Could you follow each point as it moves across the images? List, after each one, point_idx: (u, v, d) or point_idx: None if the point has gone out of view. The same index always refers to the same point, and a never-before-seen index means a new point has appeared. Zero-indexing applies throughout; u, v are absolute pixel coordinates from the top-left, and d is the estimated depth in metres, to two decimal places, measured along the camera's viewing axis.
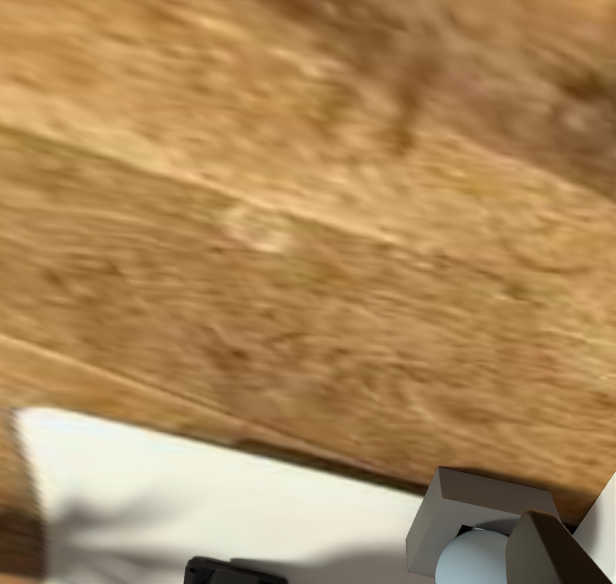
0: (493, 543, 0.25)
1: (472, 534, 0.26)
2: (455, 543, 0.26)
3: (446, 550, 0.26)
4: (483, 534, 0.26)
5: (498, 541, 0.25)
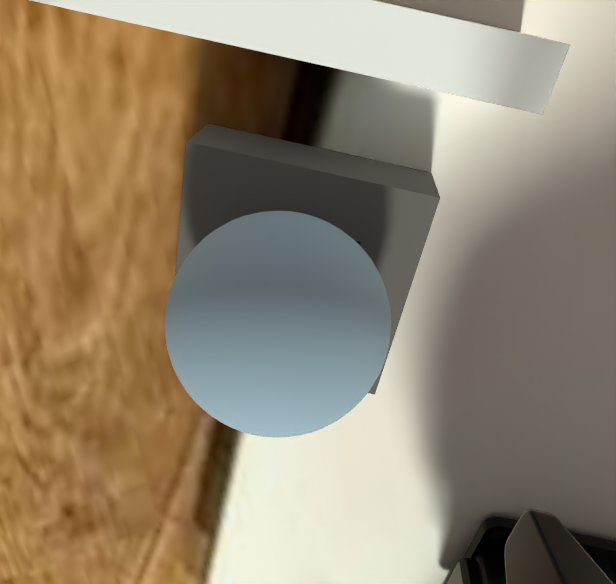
0: None
1: None
2: None
3: None
4: None
5: None
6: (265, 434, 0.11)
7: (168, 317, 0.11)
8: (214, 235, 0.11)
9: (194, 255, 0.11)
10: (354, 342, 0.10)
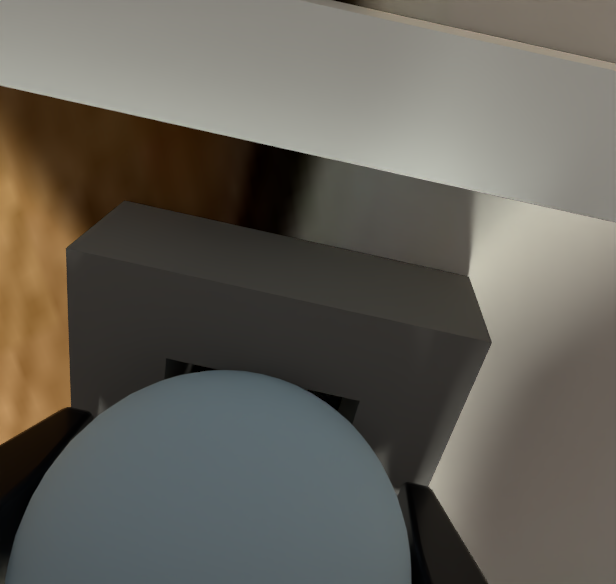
0: None
1: None
2: None
3: None
4: None
5: None
6: None
7: None
8: (90, 442, 0.06)
9: (51, 483, 0.06)
10: None
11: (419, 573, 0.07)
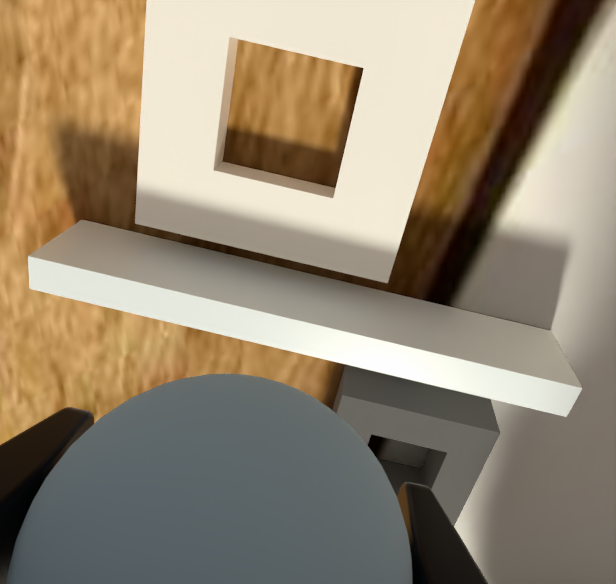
0: None
1: None
2: None
3: None
4: None
5: None
6: None
7: None
8: (91, 447, 0.06)
9: (52, 488, 0.06)
10: None
11: (419, 573, 0.07)
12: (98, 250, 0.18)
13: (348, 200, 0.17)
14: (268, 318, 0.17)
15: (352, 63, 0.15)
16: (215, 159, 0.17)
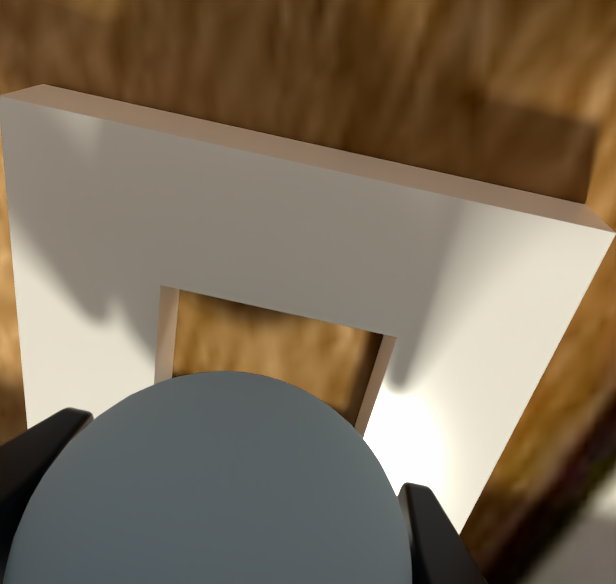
0: None
1: None
2: None
3: None
4: None
5: None
6: None
7: None
8: (89, 444, 0.06)
9: (49, 485, 0.06)
10: None
11: (419, 573, 0.07)
12: None
13: None
14: None
15: (377, 330, 0.09)
16: None
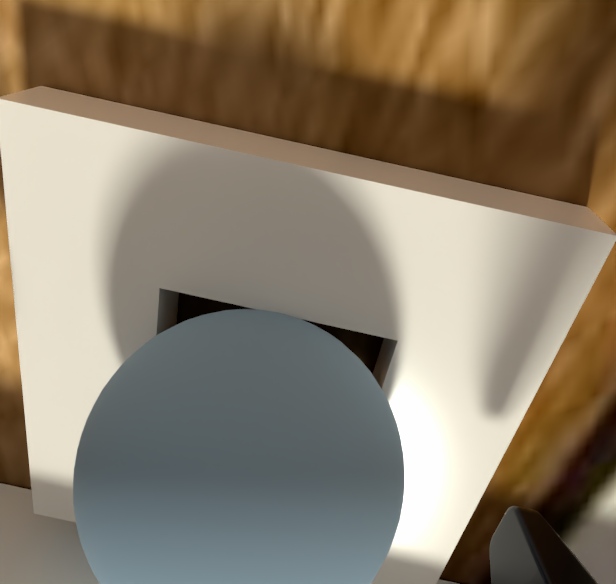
0: None
1: None
2: None
3: None
4: None
5: None
6: None
7: (74, 482, 0.07)
8: (144, 357, 0.07)
9: (113, 389, 0.07)
10: (351, 539, 0.07)
11: None
12: None
13: None
14: None
15: (377, 333, 0.09)
16: None
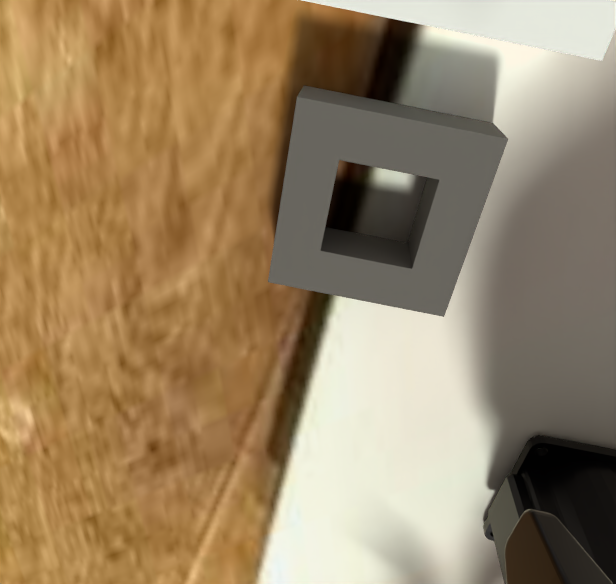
0: None
1: None
2: None
3: None
4: None
5: None
6: None
7: None
8: None
9: None
10: None
11: None
12: None
13: None
14: None
15: None
16: None
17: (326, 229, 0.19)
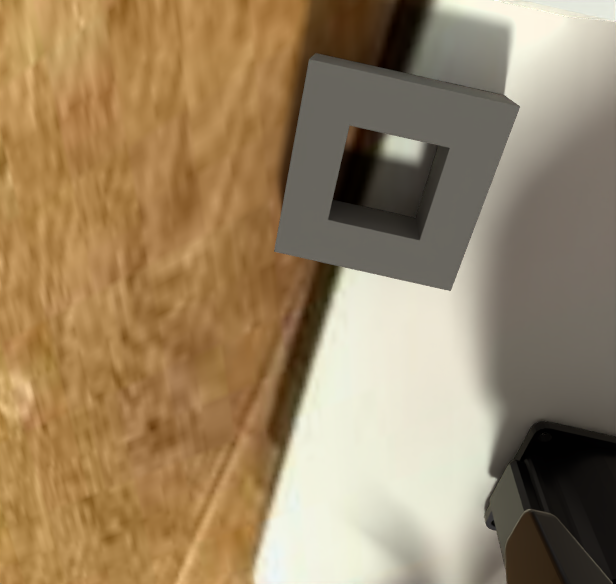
0: None
1: None
2: None
3: None
4: None
5: None
6: None
7: None
8: None
9: None
10: None
11: None
12: None
13: None
14: None
15: None
16: None
17: (334, 201, 0.19)
